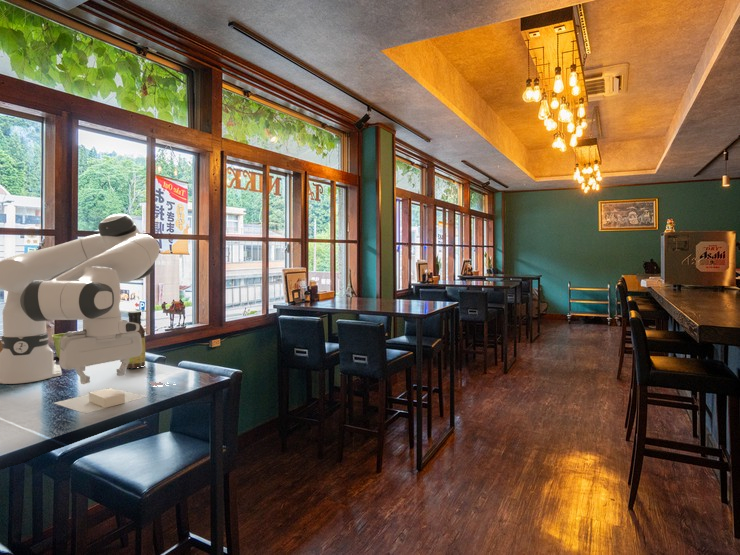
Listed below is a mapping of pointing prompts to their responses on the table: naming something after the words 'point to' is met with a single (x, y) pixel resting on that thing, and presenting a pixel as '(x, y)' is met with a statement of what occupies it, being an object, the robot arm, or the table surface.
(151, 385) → the mobile phone
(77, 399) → the bar mat
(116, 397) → the card deck
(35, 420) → the table surface
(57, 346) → the plant pot
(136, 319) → the sauce bottle
